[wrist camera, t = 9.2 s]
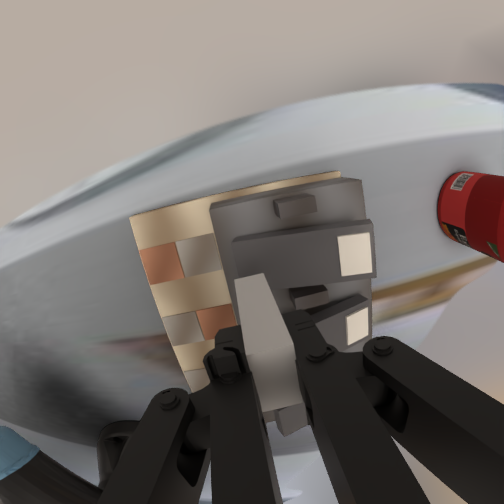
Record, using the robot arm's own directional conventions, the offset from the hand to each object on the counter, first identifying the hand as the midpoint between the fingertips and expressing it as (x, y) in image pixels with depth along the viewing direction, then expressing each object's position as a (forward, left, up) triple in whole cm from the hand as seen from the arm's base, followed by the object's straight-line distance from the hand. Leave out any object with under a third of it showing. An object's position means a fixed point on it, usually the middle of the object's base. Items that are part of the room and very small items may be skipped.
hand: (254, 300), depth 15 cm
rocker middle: (-3, -7, -4) cm, 8 cm away
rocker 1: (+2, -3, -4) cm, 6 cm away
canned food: (+13, -21, -11) cm, 27 cm away
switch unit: (-5, -4, -11) cm, 13 cm away
